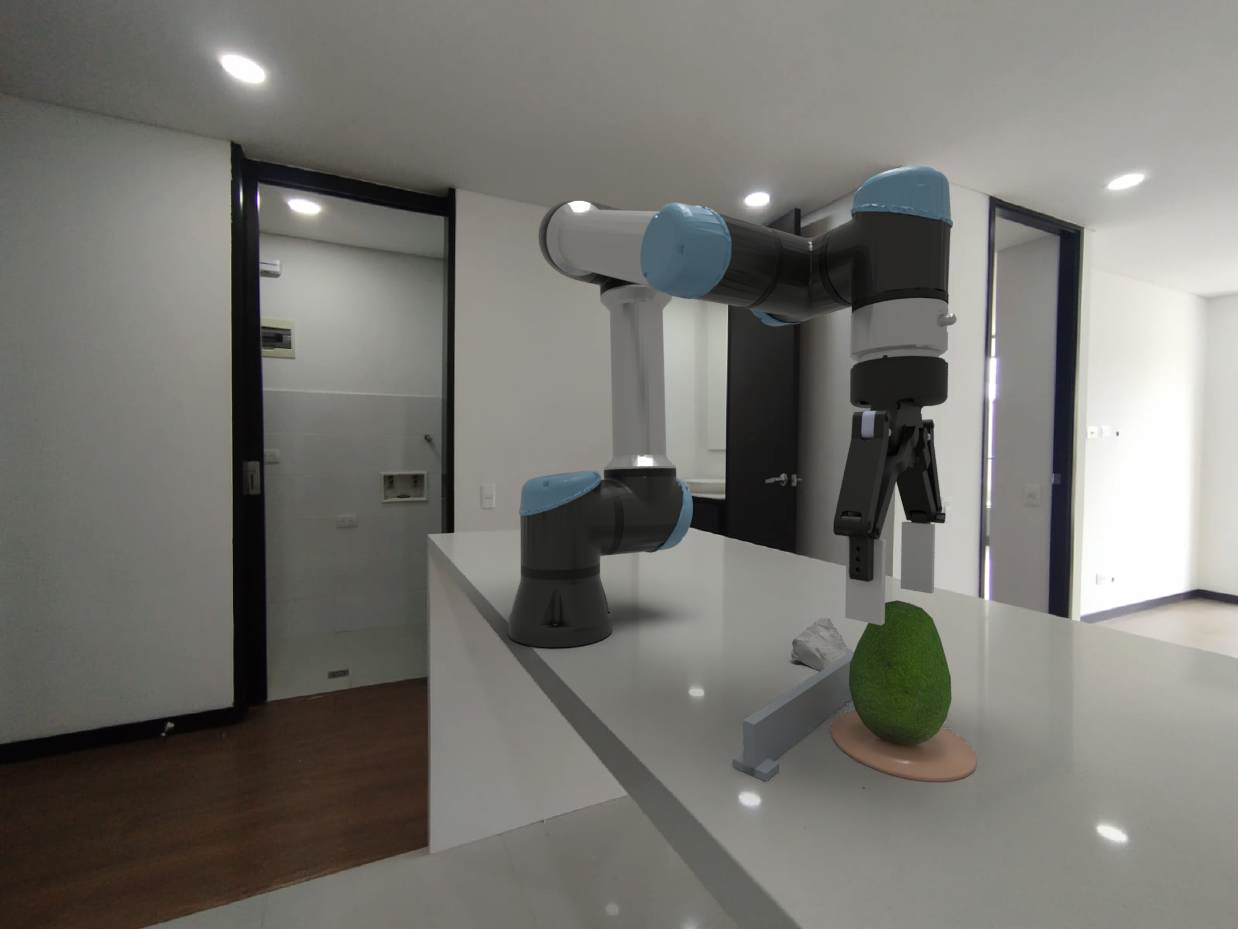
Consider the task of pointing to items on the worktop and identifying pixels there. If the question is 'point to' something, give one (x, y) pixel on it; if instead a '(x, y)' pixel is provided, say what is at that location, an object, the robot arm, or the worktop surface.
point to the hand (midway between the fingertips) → (893, 604)
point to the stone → (819, 645)
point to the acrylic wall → (792, 718)
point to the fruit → (901, 676)
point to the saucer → (905, 752)
